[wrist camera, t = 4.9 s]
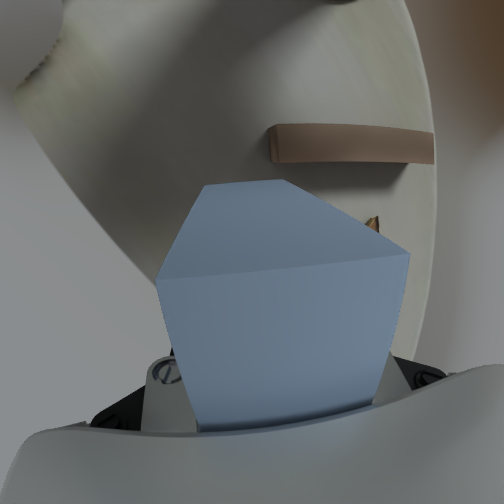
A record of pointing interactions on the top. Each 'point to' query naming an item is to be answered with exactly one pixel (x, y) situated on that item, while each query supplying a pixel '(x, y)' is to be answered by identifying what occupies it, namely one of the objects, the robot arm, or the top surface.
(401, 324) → the top surface
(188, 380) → the block
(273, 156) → the bar
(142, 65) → the top surface
